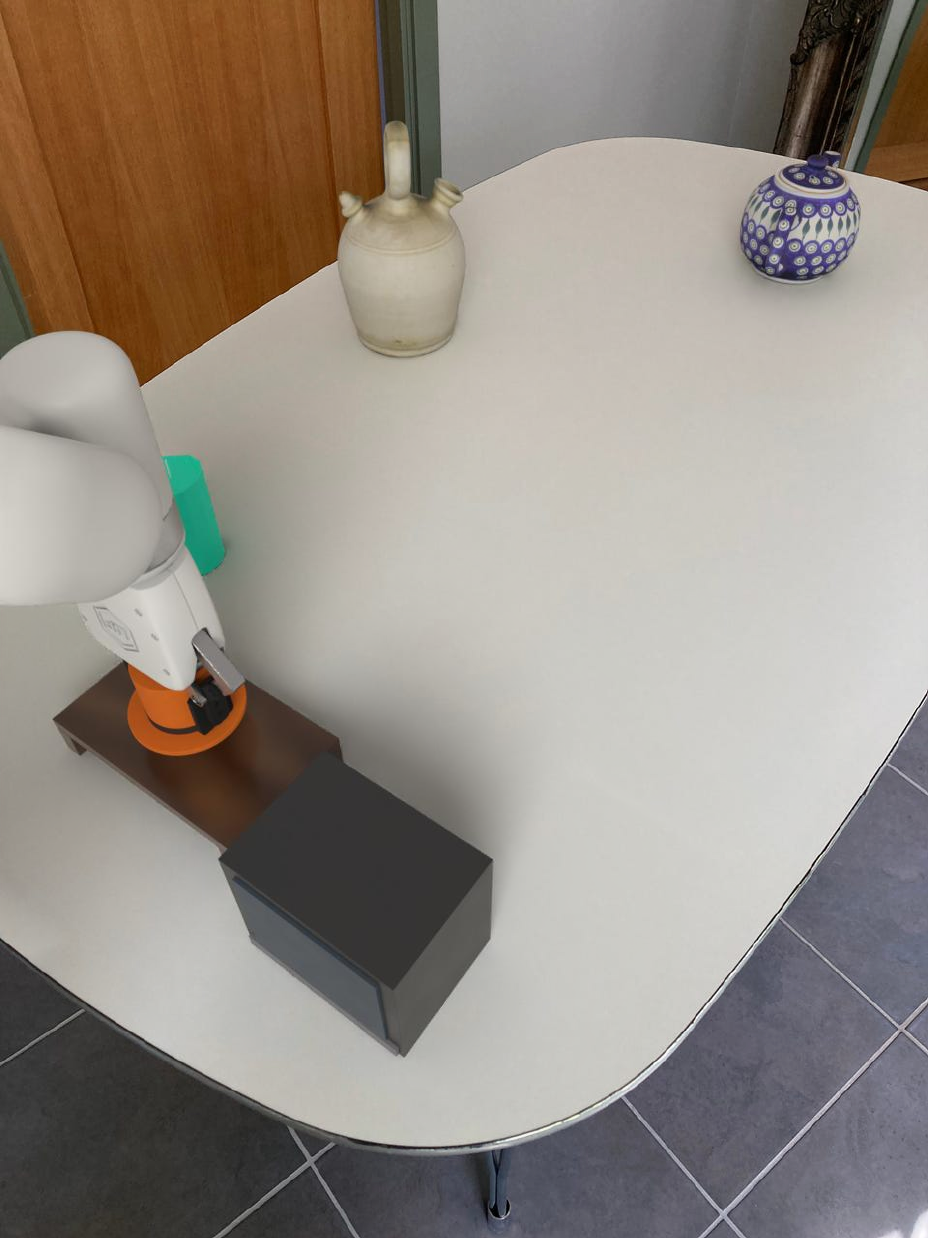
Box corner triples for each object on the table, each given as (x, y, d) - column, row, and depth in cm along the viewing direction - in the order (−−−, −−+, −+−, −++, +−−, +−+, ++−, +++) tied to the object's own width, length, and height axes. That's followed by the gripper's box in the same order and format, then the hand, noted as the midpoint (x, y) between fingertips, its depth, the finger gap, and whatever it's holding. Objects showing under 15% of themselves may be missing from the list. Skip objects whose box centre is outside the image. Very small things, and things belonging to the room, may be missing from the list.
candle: (237, 545, 95) (212, 449, 86) (202, 584, 92) (172, 489, 83) (187, 528, 97) (158, 432, 88) (151, 566, 93) (117, 470, 84)
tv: (401, 1062, 63) (389, 995, 54) (247, 941, 68) (213, 862, 59) (490, 938, 68) (493, 859, 59) (341, 836, 74) (323, 749, 65)
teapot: (811, 324, 121) (845, 209, 110) (701, 292, 127) (723, 179, 116) (869, 242, 135) (904, 133, 124) (768, 216, 141) (793, 109, 130)
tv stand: (240, 876, 72) (230, 851, 69) (67, 746, 79) (51, 718, 76) (344, 766, 78) (339, 738, 75) (175, 655, 86) (164, 626, 83)
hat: (186, 776, 70) (166, 729, 65) (104, 718, 73) (80, 669, 69) (271, 695, 75) (258, 647, 70) (190, 644, 78) (173, 594, 74)
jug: (474, 302, 125) (474, 98, 107) (456, 370, 115) (453, 157, 96) (360, 294, 127) (340, 92, 108) (332, 360, 117) (305, 149, 98)
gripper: (-17, 507, 61) (72, 679, 75) (169, 625, 54) (230, 791, 68) (77, 446, 65) (145, 620, 79) (261, 549, 58) (301, 720, 72)
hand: (184, 698), depth 73 cm, fingers closed on hat, 6 cm apart
